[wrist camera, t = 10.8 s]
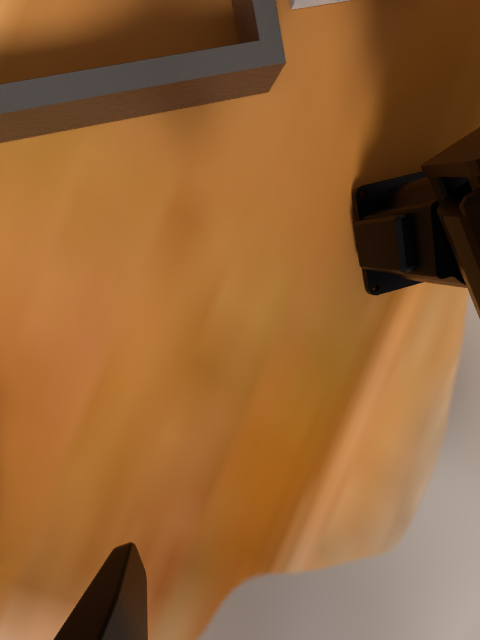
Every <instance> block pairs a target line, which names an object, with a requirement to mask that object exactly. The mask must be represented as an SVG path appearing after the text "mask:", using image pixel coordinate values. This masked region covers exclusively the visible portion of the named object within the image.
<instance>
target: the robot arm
mask: <svg viewBox="0 0 480 640" xmlns="http://www.w3.org/2000/svg"><path fill="white" fill-rule="evenodd" d="M421 168H422V170H423V172H419V173H414V174H410V175H406V176H401V177H397V178H393V179H389V180H384V181H380V182H376V183H371V184H367V185H363V186H360V187H357V188H356V189H355V190H354V191H353V194H352V199H353V206H354V213H355V220H356V224H355V226H354V229H355V236H356V243H357V250H358V257H359V264H360V266H361V267H362V269H363V276H364V283H365V289H366V292H367V293H368V294H371V295H379V294H383V293H387V292H390V291H394V290H397V289H401V288H405V287H408V286H412V285H415V284H419V283H423V282H427V283H435V284H442V285H449V286H456V287H463V288H468V291H469V293H470V296H471V298H472V300H473V303H474V306H475V308H476V310H477V313H478V316H479V318H480V127H479V128H478V129H476V130H475V131H473V132H471V133H470V134H468V135H467V136H465V137H464V138H462V139H461V140H459V141H457V142H456V143H454V144H453V145H451V146H450V147H448V148H447V149H445V150H443V151H442V152H440V153H439V154H437V155H436V156H434V157H433V158H431V159H430V160H428V161H426V162H425V163H423V164H422V165H421ZM361 191H362V192H363V193H364V198H363V199H361V198H360V192H361ZM374 284H376V289H375V290H373V289H372V287H373V285H374ZM54 640H148V628H147V579H146V572H145V569H144V566H143V563H142V561H141V558H140V556H139V553H138V550H137V548H136V545H135V544H134V543H132V542H129V543H127V544H124V545H121V546H118V547H116V548H114V549H113V551H112V552H111V553H110V555H109V556H108V558H107V559H106V561H105V562H104V564H103V565H102V567H101V569H100V570H99V572H98V573H97V575H96V576H95V578H94V579H93V581H92V582H91V584H90V585H89V587H88V588H87V590H86V591H85V593H84V594H83V596H82V597H81V599H80V600H79V602H78V603H77V605H76V606H75V608H74V609H73V611H72V612H71V614H70V615H69V617H68V618H67V620H66V622H65V623H64V625H63V626H62V628H61V629H60V631H59V632H58V634H57V635H56V637H55V638H54Z"/></svg>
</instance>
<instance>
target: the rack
mask: <svg viewBox="0 0 480 640" xmlns="http://www.w3.org/2000/svg"><path fill="white" fill-rule="evenodd" d="M232 5H233V10H234V15H235V20H236V25H237V30H238V35H239V40H240V44H236V45H230V46H224V47H218V48H212V49H206V50H201V51H195V52H189V53H183V54H177V55H171V56H165V57H159V58H153V59H147V60H141V61H136V62H130V63H124V64H118V65H112V66H106V67H100V68H94V69H88V70H82V71H76V72H70V73H65V74H59V75H53V76H47V77H41V78H35V79H29V80H23V81H17V82H11V83H5V84H0V143H2V142H7V141H12V140H18V139H23V138H28V137H34V136H39V135H44V134H49V133H55V132H60V131H65V130H71V129H76V128H81V127H86V126H92V125H97V124H102V123H108V122H113V121H118V120H123V119H129V118H134V117H139V116H145V115H150V114H155V113H160V112H166V111H171V110H176V109H182V108H187V107H192V106H197V105H203V104H208V103H213V102H218V101H224V100H229V99H234V98H240V97H245V96H250V95H255V94H261V93H266V92H269V90H270V89H271V87H272V85H273V83H274V82H275V80H276V78H277V77H278V75H279V73H280V72H281V70H282V68H283V67H284V65H285V63H286V60H285V54H284V48H283V43H282V37H281V31H280V25H279V19H278V14H277V8H276V2H275V0H232Z"/></svg>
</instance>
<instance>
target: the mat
mask: <svg viewBox="0 0 480 640" xmlns="http://www.w3.org/2000/svg"><path fill="white" fill-rule="evenodd" d="M342 1H349V0H290V5H291V10H292V9H298V8H305V7H311V6H317V5H324V4H330V3H336V2H342Z"/></svg>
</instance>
